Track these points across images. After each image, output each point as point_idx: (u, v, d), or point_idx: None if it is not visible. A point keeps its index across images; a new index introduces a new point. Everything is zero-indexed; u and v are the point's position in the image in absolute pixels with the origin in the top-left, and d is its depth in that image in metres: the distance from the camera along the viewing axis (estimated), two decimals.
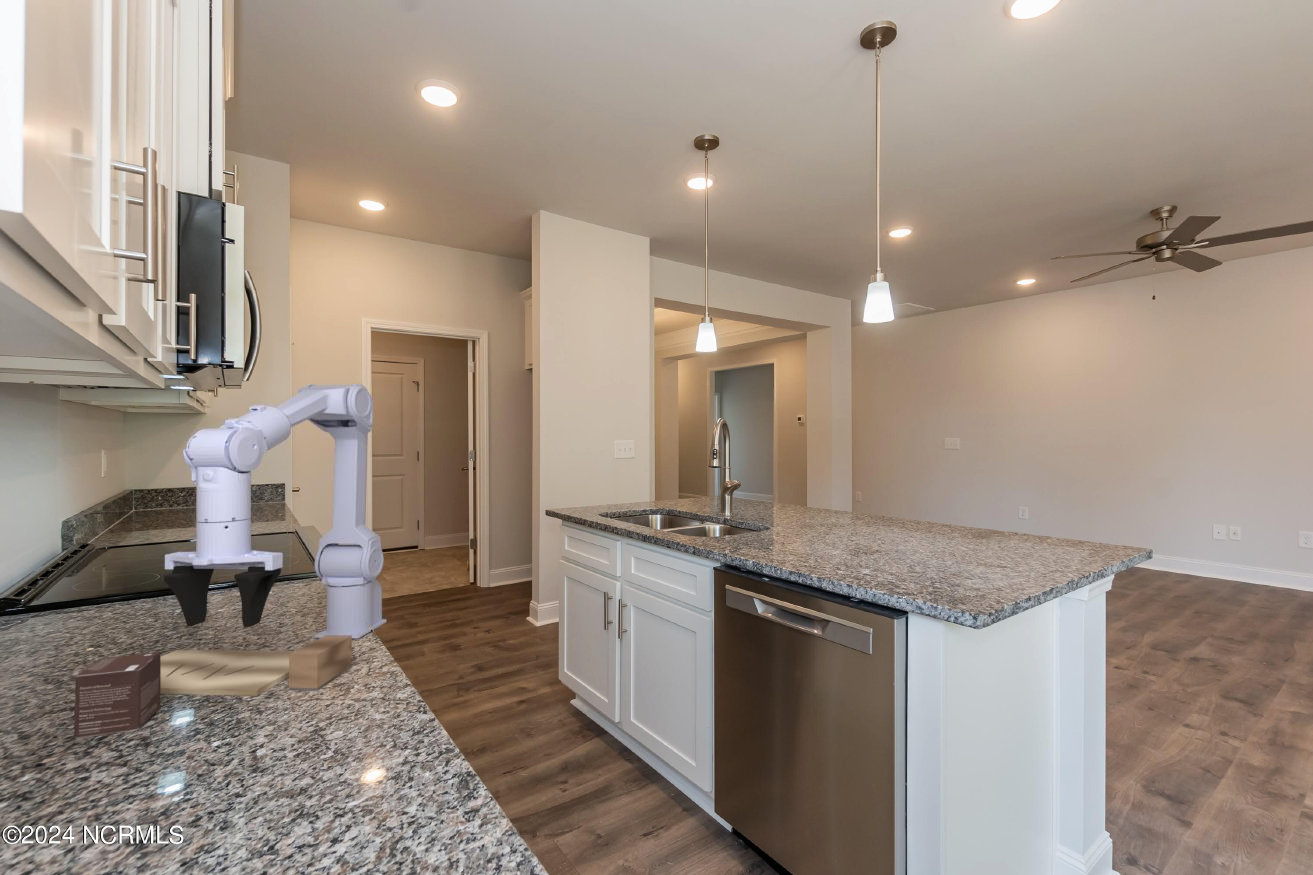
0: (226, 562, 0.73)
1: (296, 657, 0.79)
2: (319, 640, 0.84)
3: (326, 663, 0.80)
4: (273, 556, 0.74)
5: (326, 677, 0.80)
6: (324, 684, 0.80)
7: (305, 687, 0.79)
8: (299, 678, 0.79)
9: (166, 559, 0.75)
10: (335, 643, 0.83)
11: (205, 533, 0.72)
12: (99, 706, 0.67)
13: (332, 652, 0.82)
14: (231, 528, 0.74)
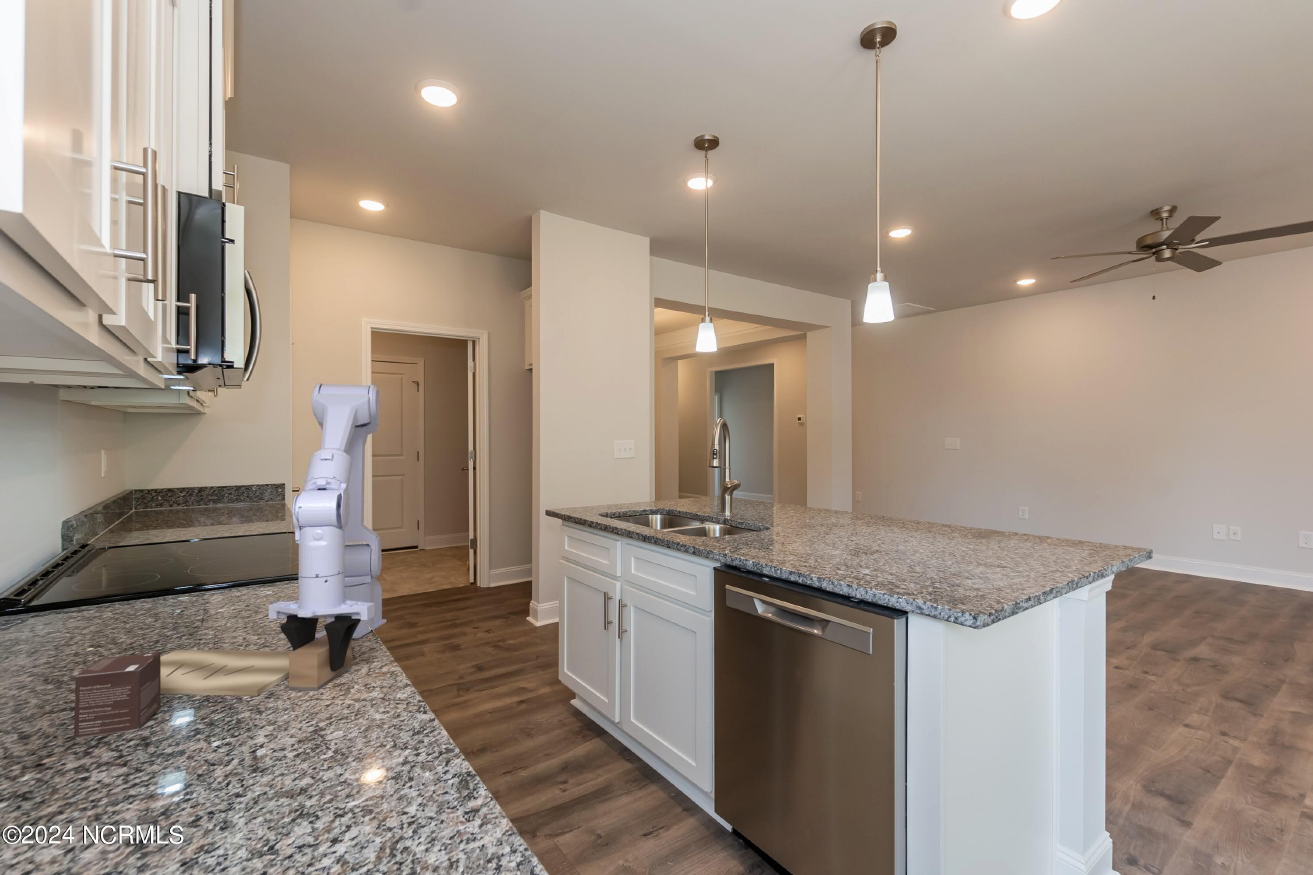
0: (327, 613, 0.80)
1: (296, 656, 0.79)
2: (319, 639, 0.84)
3: (326, 663, 0.80)
4: (368, 607, 0.82)
5: (326, 676, 0.80)
6: (324, 683, 0.80)
7: (305, 686, 0.79)
8: (299, 677, 0.79)
9: (270, 609, 0.82)
10: None
11: (308, 587, 0.80)
12: (99, 706, 0.67)
13: None
14: (330, 582, 0.81)
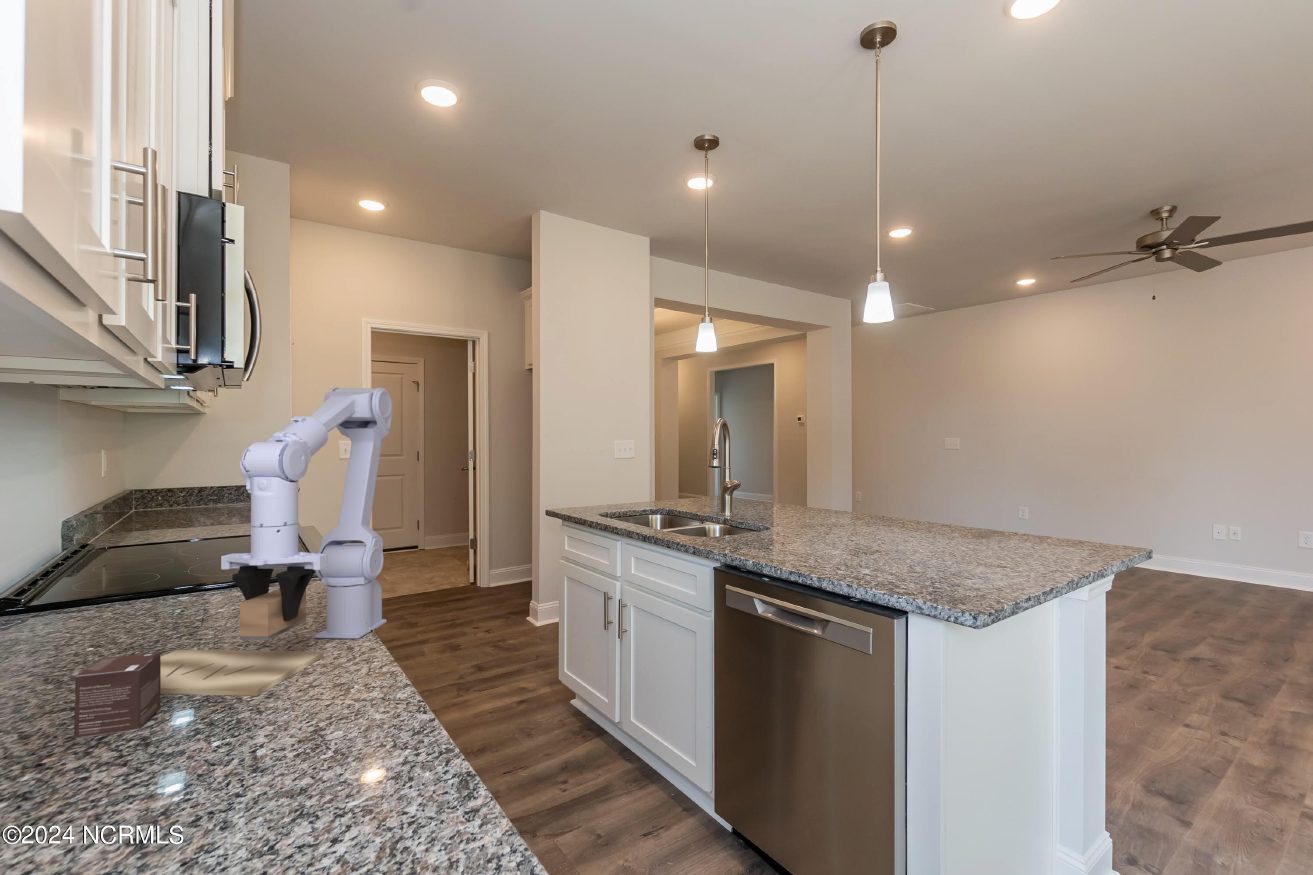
0: (279, 562, 0.81)
1: (246, 605, 0.79)
2: (272, 592, 0.85)
3: (277, 613, 0.81)
4: (320, 557, 0.82)
5: (278, 626, 0.81)
6: (275, 633, 0.80)
7: (256, 635, 0.79)
8: (249, 626, 0.79)
9: (222, 560, 0.82)
10: None
11: (260, 536, 0.80)
12: (99, 706, 0.67)
13: None
14: (282, 532, 0.81)
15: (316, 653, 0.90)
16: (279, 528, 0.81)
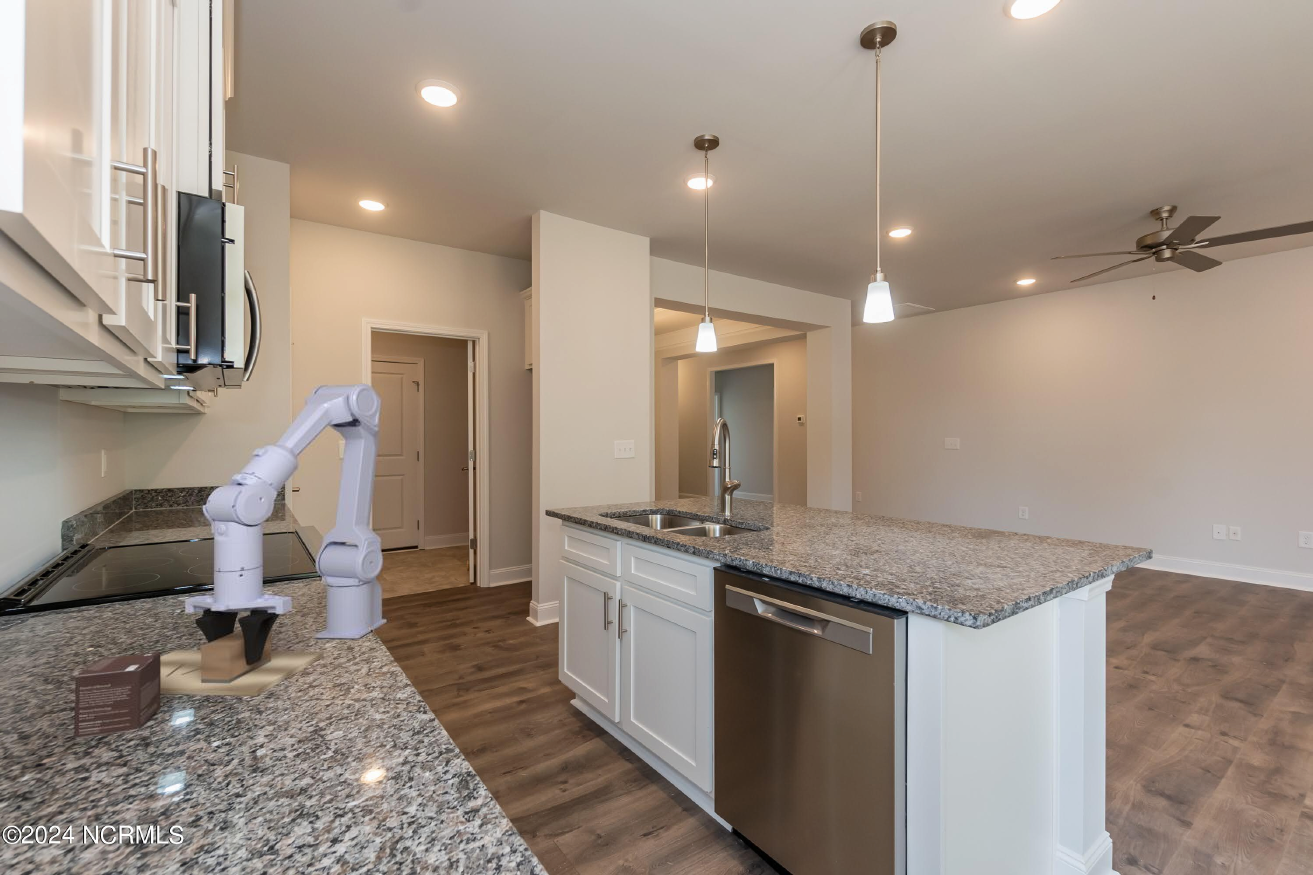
0: (241, 607, 0.81)
1: (208, 648, 0.79)
2: (237, 632, 0.85)
3: (240, 655, 0.81)
4: (283, 601, 0.82)
5: (240, 669, 0.81)
6: (237, 676, 0.81)
7: (217, 678, 0.79)
8: (211, 670, 0.79)
9: (186, 603, 0.83)
10: None
11: (222, 581, 0.81)
12: (99, 706, 0.67)
13: None
14: (245, 576, 0.82)
15: (316, 653, 0.90)
16: (242, 572, 0.81)
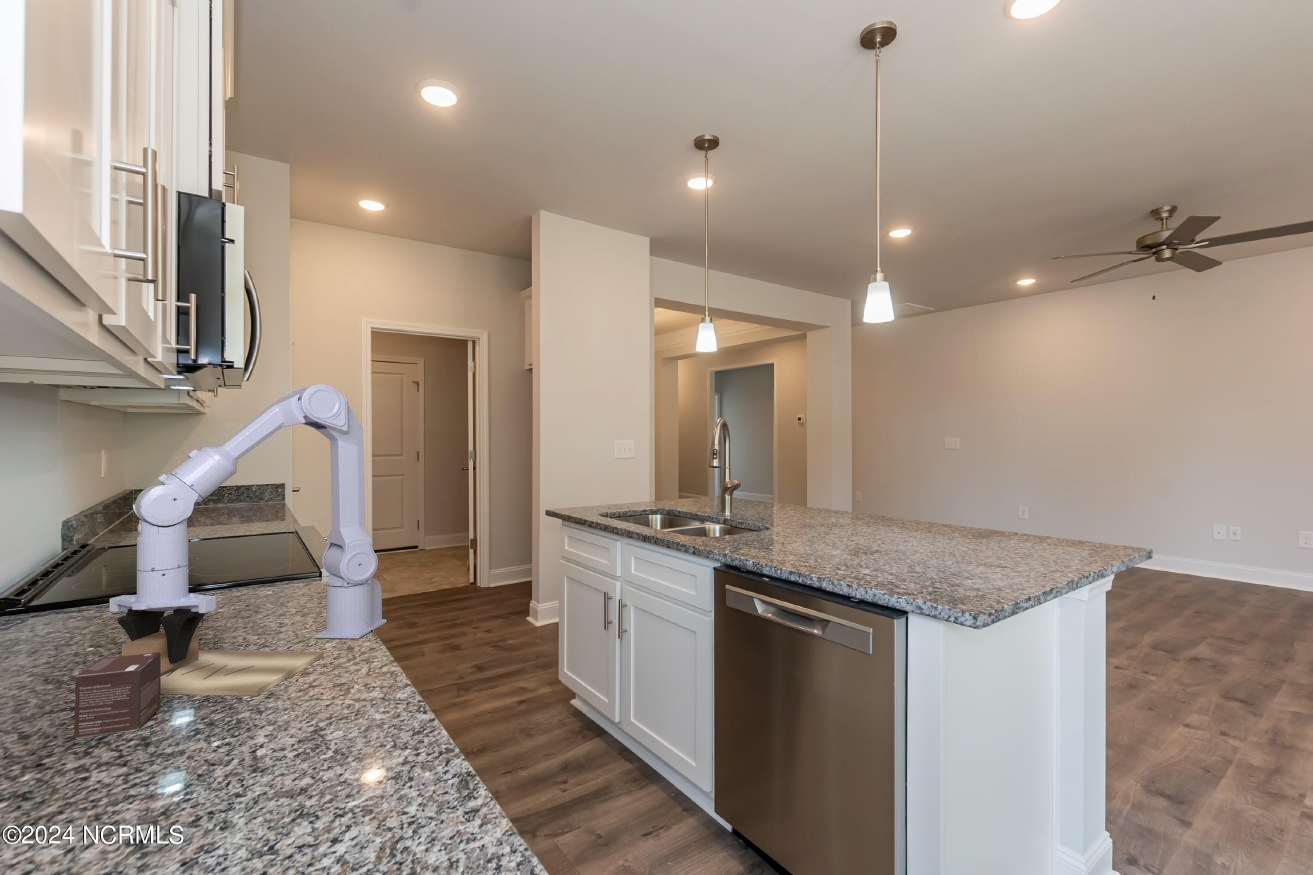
0: (163, 606, 0.82)
1: (128, 647, 0.80)
2: (162, 631, 0.86)
3: (161, 654, 0.82)
4: (206, 600, 0.83)
5: (162, 667, 0.82)
6: None
7: None
8: None
9: (111, 602, 0.83)
10: None
11: (144, 580, 0.81)
12: (99, 706, 0.67)
13: None
14: (168, 575, 0.82)
15: (316, 653, 0.90)
16: (164, 572, 0.82)
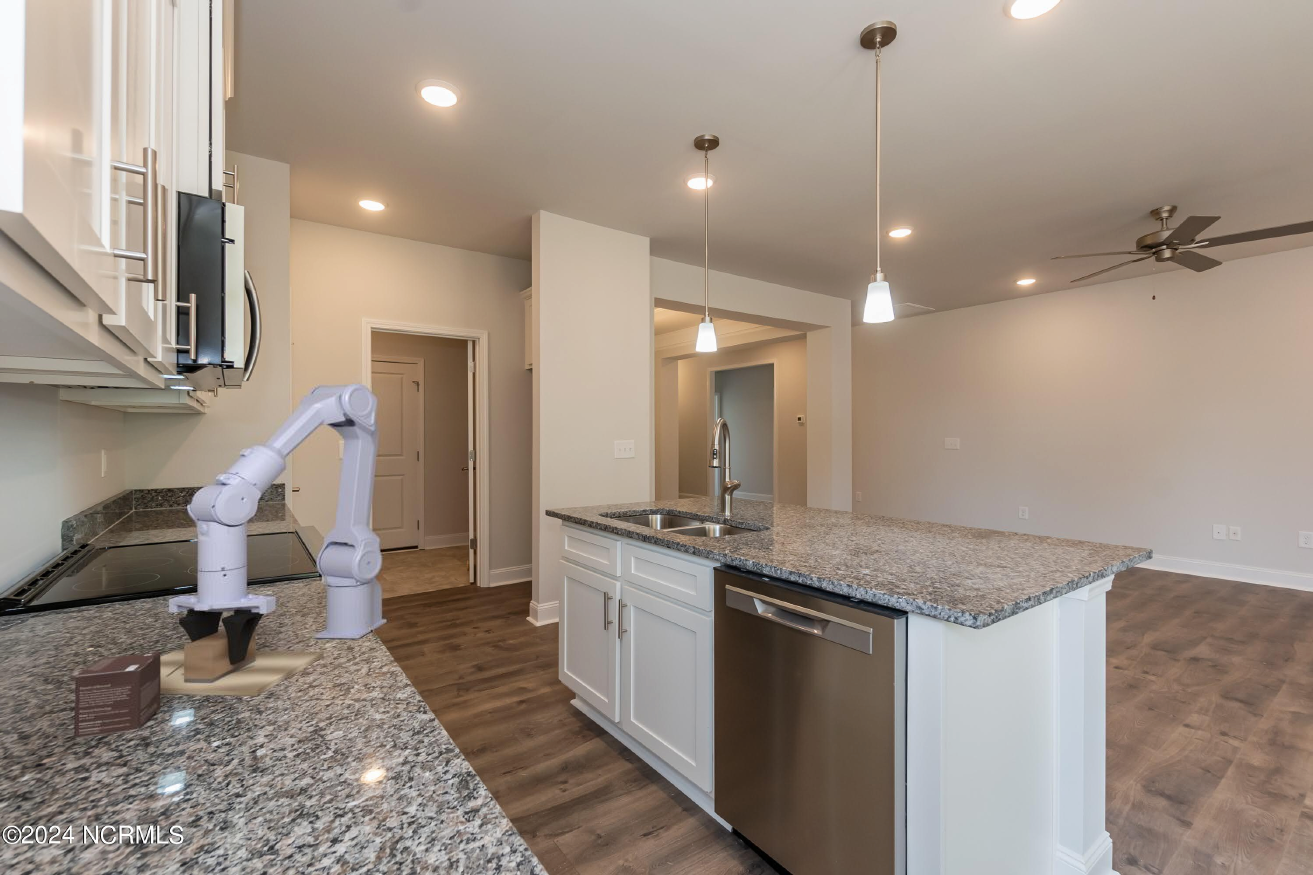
0: (224, 607, 0.81)
1: (191, 648, 0.79)
2: (221, 632, 0.85)
3: (223, 655, 0.81)
4: (267, 601, 0.82)
5: (223, 668, 0.81)
6: (221, 675, 0.81)
7: (200, 678, 0.79)
8: (194, 669, 0.79)
9: (170, 603, 0.83)
10: None
11: (205, 581, 0.81)
12: (99, 706, 0.67)
13: None
14: (229, 576, 0.82)
15: (316, 653, 0.90)
16: (225, 572, 0.81)
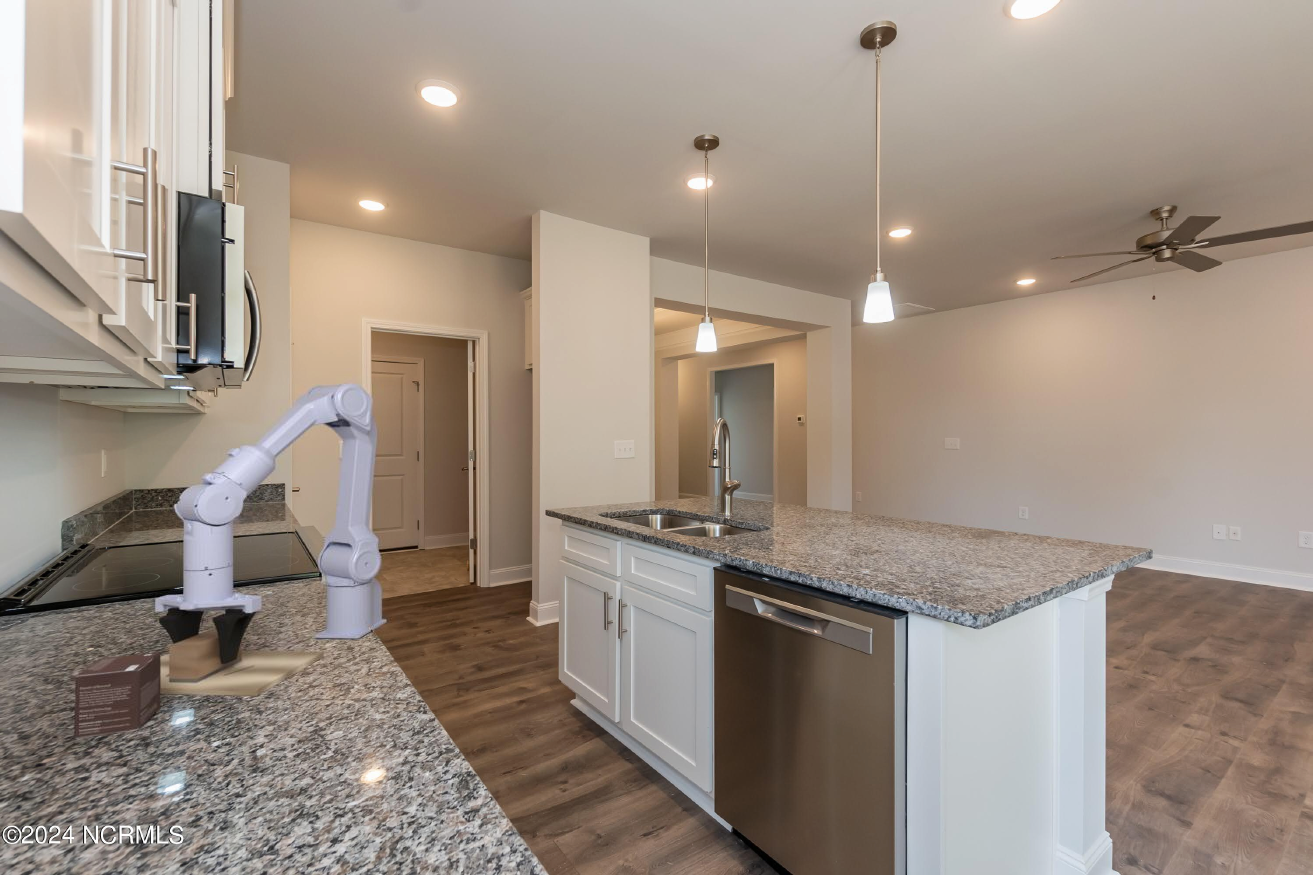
0: (210, 606, 0.81)
1: (176, 648, 0.79)
2: (207, 632, 0.85)
3: (208, 655, 0.81)
4: (252, 600, 0.83)
5: (208, 668, 0.81)
6: (206, 675, 0.81)
7: (185, 678, 0.79)
8: (179, 669, 0.79)
9: (156, 602, 0.83)
10: None
11: (191, 580, 0.81)
12: (99, 706, 0.67)
13: (216, 643, 0.83)
14: (214, 575, 0.82)
15: (316, 653, 0.90)
16: (211, 571, 0.82)
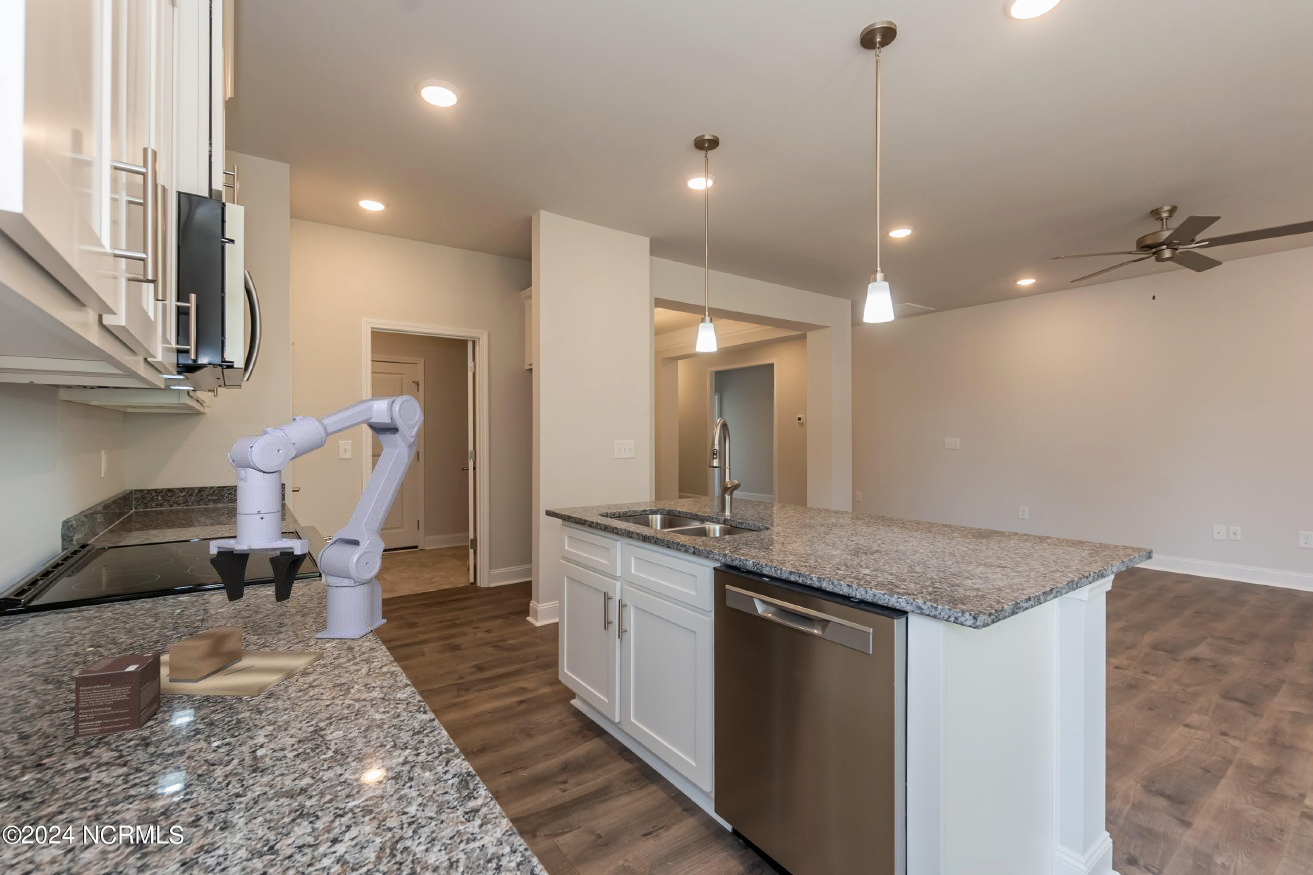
0: (262, 547, 0.87)
1: (176, 648, 0.79)
2: (207, 632, 0.85)
3: (208, 655, 0.81)
4: (301, 542, 0.88)
5: (208, 668, 0.81)
6: (206, 675, 0.81)
7: (185, 678, 0.79)
8: (179, 669, 0.79)
9: (211, 545, 0.89)
10: (221, 635, 0.84)
11: (244, 523, 0.87)
12: (99, 706, 0.67)
13: (216, 643, 0.83)
14: (266, 519, 0.88)
15: (316, 653, 0.90)
16: (262, 515, 0.88)
